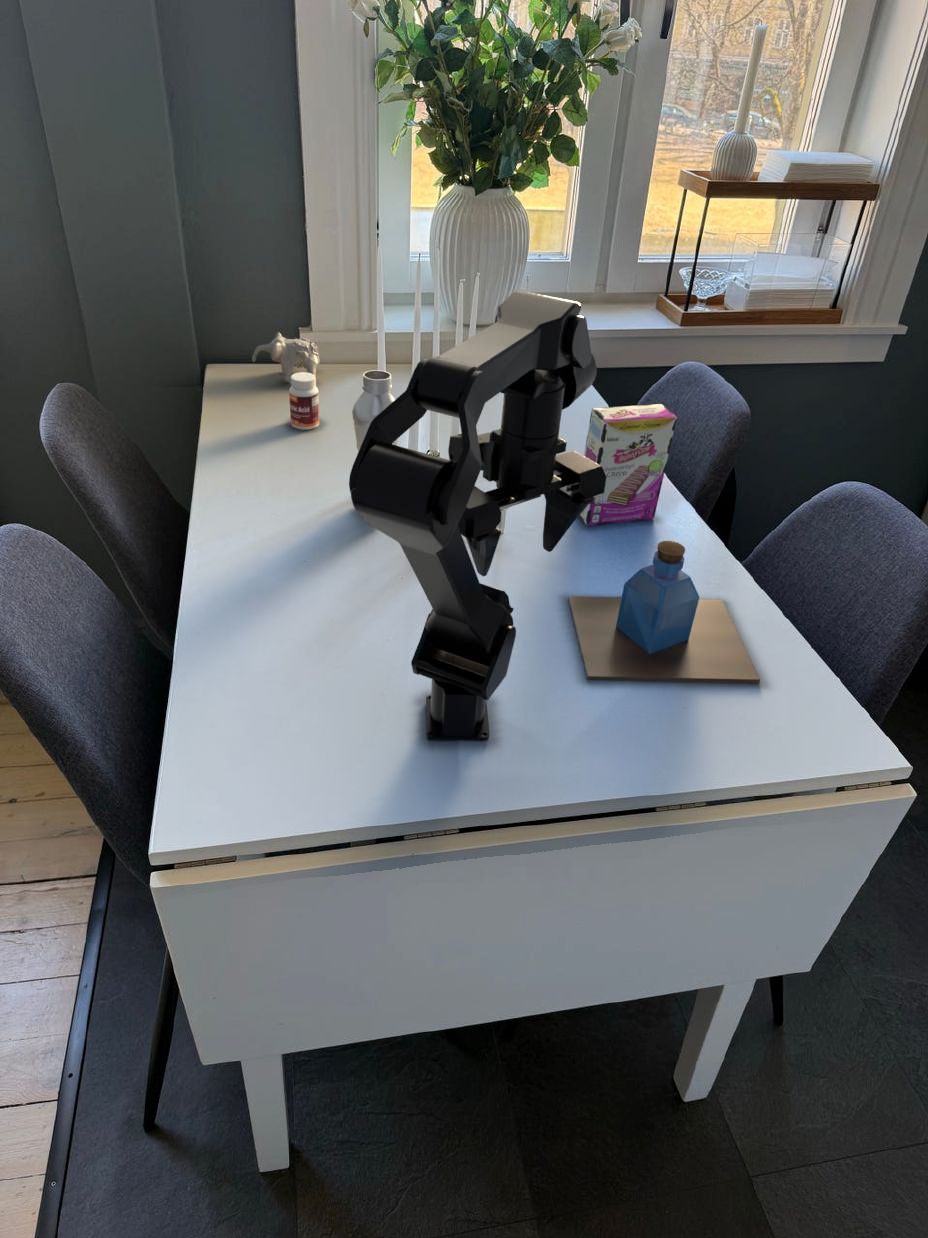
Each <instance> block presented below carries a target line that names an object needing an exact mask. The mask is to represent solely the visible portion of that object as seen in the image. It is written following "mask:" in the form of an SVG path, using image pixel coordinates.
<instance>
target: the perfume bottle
mask: <svg viewBox="0 0 928 1238" xmlns="http://www.w3.org/2000/svg"><path fill="white" fill-rule="evenodd" d="M656 547H657V548H656V551H655V552H654V554H653V557H652V564H650V565H647V566H644V567H641V568H640V569H639V570H638V571H637V572H635V573H634V574H633V575H632V576H631V577H630V578H629V579H627V581H625V582H624V584H623V589H622V593H621V597H622V598H621V603H620V608H619V613H618V618H617V623H616V627H618V628H619V629H620V630H621V631H622V632H624V633H625V634H626V635H627V636H628V637H630V638H631V639H632V640H633V641H634V642H636V643H637V644H638V645H639V646H640V647H642V648H643V649H644V650H645V651H646V652H648V653H649V654H651V653H654V652H657V651H659V650H662V649H665V648H667V647H670V646H673V645H676V644H678V643H681V642H684V641H686V640H689V636H690V632H691V628H692V624H693V621H694V617H695V613H696V609H697V605H698V601H699V599H700V595H699V593H698V591H697V589H696V586H695V583H694V582H693V580H692V578H691V576H690V575H688V574H687V573H686V572H684V571H683V570H682V569H683V568H684V564H685V557H684V555H685V553H686V548H685V546H683V544H681V543H679V542H677V541H672V540H663V541H660V542H658V543H657V546H656Z"/></svg>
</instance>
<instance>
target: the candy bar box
mask: <svg viewBox="0 0 928 1238" xmlns="http://www.w3.org/2000/svg"><path fill="white" fill-rule="evenodd" d="M677 420H678V417H677V416H676V415H675V413H673V412H672V411H671V410H669V409H668V408H667V407H666V406H665V405H663V404H662V403H656V404H654V403H653V404H642V405H641V404H638V405H626V406H608V407H605V406H604V407H592V408H591V411H590V417H589V424H588V430H587V435H586V440H585V447H584V453H583V456H584V457H586V458H588V459H590V460H592V461H593V462H595V463H597V464H599V465H600V466H602V468H603V470H604V472H605V474H606V483H605V489H604V493H602V494H599V495H597V496H595V500H594V502H593V503H590V504H589V505H588V506H587V507H586V508H585V510H584V511H583V512H582V513H581V514H580V515H579V518H580V519H581V521H582V522H583V523H584V525H585V526H586V527H591V526H592V527H593V526H600V525H609V524H618V523H628V522H637V521H645V520H648V521H649V520H653V519H655V515H656V512H657V507H658V502H659V498H660V494H661V489H662V484H663V481H664V476H665V472H666V468H667V464H668V463H667V462H668V459H669V454H670V449H671V446H672V442H673V437H674V433H675V428H676V425H677Z"/></svg>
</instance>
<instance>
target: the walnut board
mask: <svg viewBox="0 0 928 1238" xmlns="http://www.w3.org/2000/svg"><path fill="white" fill-rule="evenodd" d="M621 598H622V596H587V595H583V596H581V595H568V597H567V602H568V604H569V605H568V606H569V609H570V614H571V618H572V622H573V627H574V631H575V634H576V639H577V643H578V644H577V645H578V647H579V652H580V656H581V661H582V664H583V669H584V674H585V677H586V680H587V681H605V682H608V681H609V682H653V683H654V682H656V683H658V682H661V683H704V684H705V683H706V684H707V683H708V684H709V683H710V684H711V683H712V684H760V682H761V678H760V675H759V674H758V672H757V670H756V667H755V665H754V663H753V661H752V659H751V656H750V654H749V653H748V651H747V647H746V646H745V643H744V642H743V640H742V638H741V636H740V634H739V631H738V629H737V627H736V625H735V623H734V621H733V619H732V616H731V614H730V612H729V611H728V608H727V606H726V604H725V602H724V600H723V599H702V598H701V599H700V598H699V601H698V605H697V609H696V613H695V617H694V621H693V624H692V628H691V632H690V636H689V640H686V641H684V642H681V643H678V644H676V645H673V646H670V647H667V648H665V649H662V650H659V651H657V652H654V653H651V654H649V653H648V652H646V651H645V650H644V649H643V648H642V647H640V646H639V645H638V644H637V643H636V642H634V641H633V640H632V639H631V638H630V637H628V636H627V635H626V634H625V633H624V632H622V631H621V630H620V629H619V628H618V627H616V623H617V618H618V613H619V608H620V603H621Z"/></svg>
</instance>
